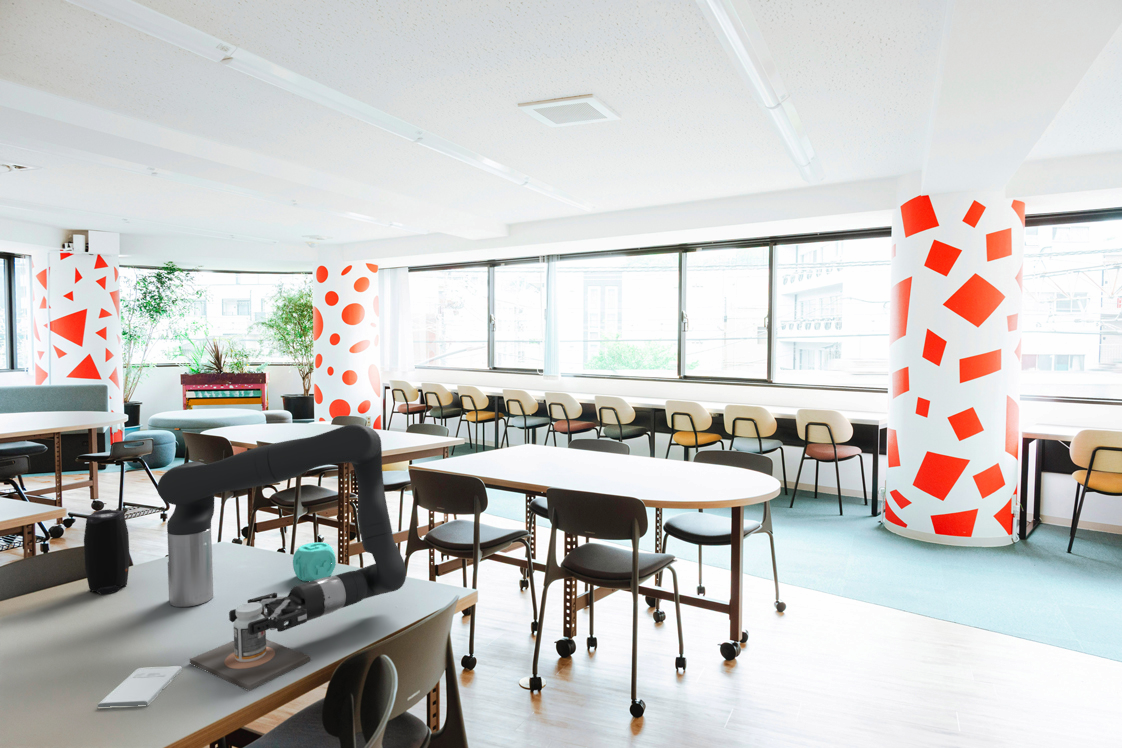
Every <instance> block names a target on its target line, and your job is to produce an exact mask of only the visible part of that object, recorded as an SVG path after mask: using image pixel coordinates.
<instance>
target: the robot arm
mask: <svg viewBox="0 0 1122 748" xmlns="http://www.w3.org/2000/svg"><path fill="white" fill-rule="evenodd" d="M382 449H383V448H382V440H381V437H380V435H379V434H378V432H377V431H376V430H375V429H373V428H371V427H369V426H366V425H365V424H360V423H350V424H347V425H343V426H340V427H337V428H335V429H332V430H329V431H326V432H323V433H320V434H317V435H314V436H309V437H303V438H297V439H290V440H289V439H288V440H284V441H280V442H275V443H274V442H273V443H271V444H270V443H269V444H265V445H262V446H258V447H254V448H251V449H248V450H247V449H246V450H244V451H241V452H238V453H236V454H234V455H231V456H228V457H226V458H222V459H221V460H217V461H214V462H210V463H203V462H200V461H197V460H196V461H189V462H184V463H183V464H180V465H177V466H174V467H172V468H170V469H168V470H166V471H165V472H164V474H163V475H162V476H161V477H160V478H159V480H158V483H157V485H156V486H157V488H156V489H157V494H158V496H159V497H160V499H161V500H162V501H164V502H165V503H168V504H171V505H175V508H174V511H173V513H172V515H170V517H169V519H168V521H167V523H166V529H167V533H166V535H167V553H168V554H167V555H168V559H167V560H168V562H167V578H168V579H167V580H168V581H167V583H168V585H167V586H168V600H169V605H171V606H173V607H177V608H188V607H193V606H198V605H202V604H204V603H205V604H206V603H207V602H209V601H211V599H213V598H214V574H213V573H214V572H213V569H214V567H213V543H212V542H213V541H212V520H213V516H214V514H215V495H217V494H221V493H226V492H231V491H240V490H246V489H251V488H252V489H253V488H256V487H257V488H258V487H263V486H268V485H273V484H276V483H280V482H285V481H288V480H291V479H294V478H295V477H298V476H301V475H303V474H305V473H306V472H307V473H308V471H310V470H313V469H316V468H318V467H322V466H329V465H334V464H335V465H336V464H347V463H350V464H351V465H352V468H353V470H354V473H355V477H356V482H357V483H356V484H357V489H358V490H357V495H358V497H357V521H358V522H357V523H358V529H359V533H360V534H359V535H360V539H361V545H362V548H363V550H364V551H365V552H366V553H369V554H371V555H372V557H373V560H374V562H375V563H373V564H369V565H368V566H364V567H362V568H360V569H357V570H356V569H355V570H350V571H346V572H343V573H342V572H341V573H339V574H335V575H332V576H331V575H330V576H329V577H324V578H321V579H317V580H314V581H310V582H305V583H300V584H298V585H295V586H292V587H291V589H290V591H289V593H288V594H287V596H278V593H277V592H272V593H269V594H265V595H261V596H257V597H254V598H251V599H248V600H247V602H246V603H254V602H256V603H260V604H262V612H261V614H262V615H263V616H264V617H265V618H263V619H259V620H256V621H253V622H250V623H249V624H248V633H249V634H250V635H253V634H256V633H259V632H262V631H265V630H266V631H268V630H270V631H274V630H276V631H277V632H279V633H280V632H284V631H287V630H290V629H292V628H294V627H297V626H300V625H303V624H306V623H308V621H311V620H314V619H318V618H320V617H323V616H326V615H329V614H332V613H334V612H337V611H338V610H340V609H341V610H342V609H344V608H346V607H349V606H352V605H355V604H357V603H359V602H361V601H363V600H365V599H369V598H372V597H375V596H378V595H379V596H380V595H383V594H388V593H391V592H396V591H398V590H400V589H401V588H402V587H403V586H404V584H405V582H406V579H407V570H406V569H407V568H406V564H405V562H404V559H403V557H402V554H401V552H400V550H399V547H398V545H397V543H396V541H395V540H394V535H393V529H392V523H391V519H390V516H389V515H390V514H389V511H388V504H387V498H386V493H385V486H384V474H383V453H382V452H383V451H382ZM228 617H229V618H228V620H229V622H231V623H234V621H235V620H236V619H237V616H236V608H235V609H231V610H229V612H228ZM286 623H287V624H286Z"/></svg>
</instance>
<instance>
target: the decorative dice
mask: <svg viewBox="0 0 1122 748" xmlns="http://www.w3.org/2000/svg"><path fill="white" fill-rule="evenodd" d="M336 560H337V559H336V555H335V551H334V549H333V547H332V546H331V545H330V544H328V543H327V542H321V541H320V542H310V543H305V544H302V545H301V546H299V547H298V548H297V549H296V550H295V552H294V554H293V557H292V566H293V568H292V569H293V571H294V573H295V576H296V577H297V578H298V580H299V581H301V580H302V582H306V581H314V580H317V579H321V578H324V577H331V575H332V574H333V572H334V570H335V568H336V563H337V562H336ZM331 563H332V564H331Z"/></svg>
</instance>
